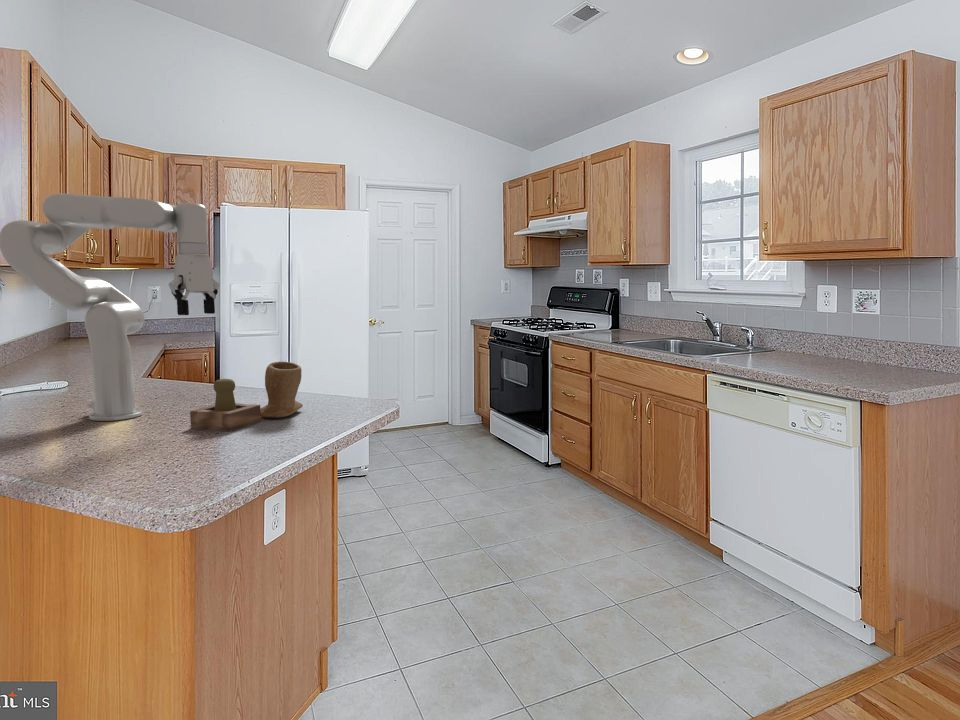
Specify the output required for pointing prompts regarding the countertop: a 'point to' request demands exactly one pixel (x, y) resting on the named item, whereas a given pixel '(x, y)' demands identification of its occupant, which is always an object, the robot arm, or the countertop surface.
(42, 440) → the countertop surface
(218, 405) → the olive knobbed peg
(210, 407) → the socket block
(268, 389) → the stone cup
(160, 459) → the countertop surface
